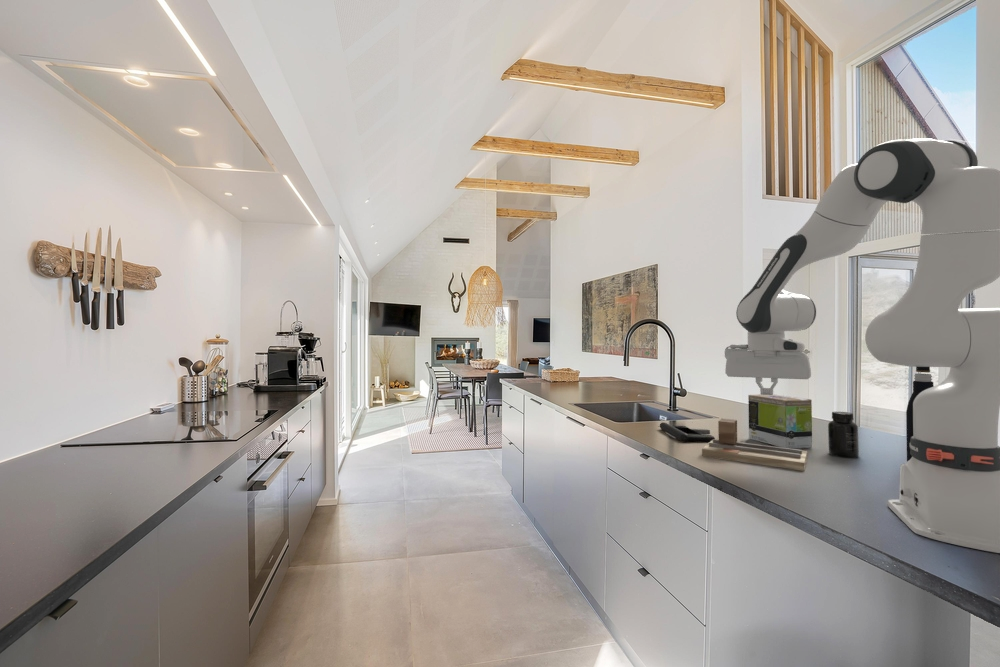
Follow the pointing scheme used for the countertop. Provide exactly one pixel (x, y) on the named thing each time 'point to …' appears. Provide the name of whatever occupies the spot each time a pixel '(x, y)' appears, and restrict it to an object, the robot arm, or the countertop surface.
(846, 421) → the supplement bottle
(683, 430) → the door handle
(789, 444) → the tea box
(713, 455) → the slider board
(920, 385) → the black water bottle
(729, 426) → the fader knob
